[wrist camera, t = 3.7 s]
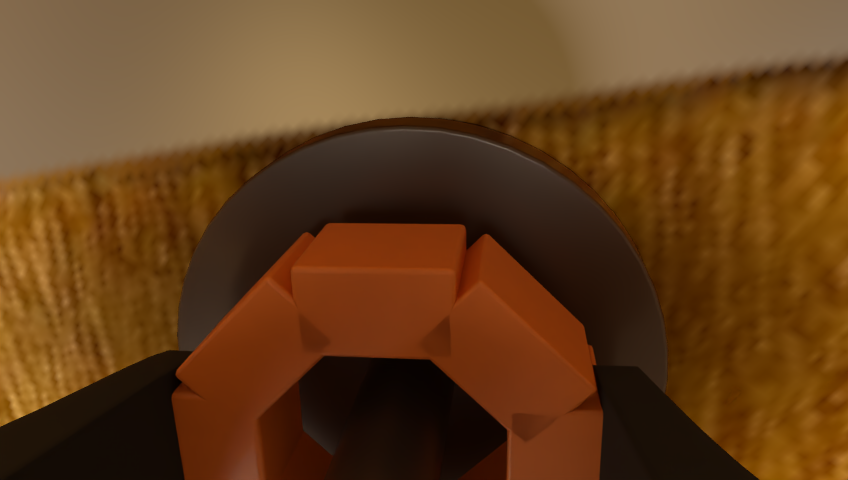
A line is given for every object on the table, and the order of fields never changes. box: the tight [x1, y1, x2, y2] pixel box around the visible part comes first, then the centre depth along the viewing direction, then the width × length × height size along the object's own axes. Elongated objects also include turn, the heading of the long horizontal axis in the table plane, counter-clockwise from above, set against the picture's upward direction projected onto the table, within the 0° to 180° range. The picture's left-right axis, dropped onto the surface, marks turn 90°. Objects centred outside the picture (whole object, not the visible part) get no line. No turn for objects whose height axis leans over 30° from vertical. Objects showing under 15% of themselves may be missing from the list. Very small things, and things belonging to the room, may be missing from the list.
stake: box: [177, 117, 668, 480], centre depth 10 cm, size 8×8×5 cm
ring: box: [171, 223, 603, 480], centre depth 10 cm, size 6×6×2 cm
